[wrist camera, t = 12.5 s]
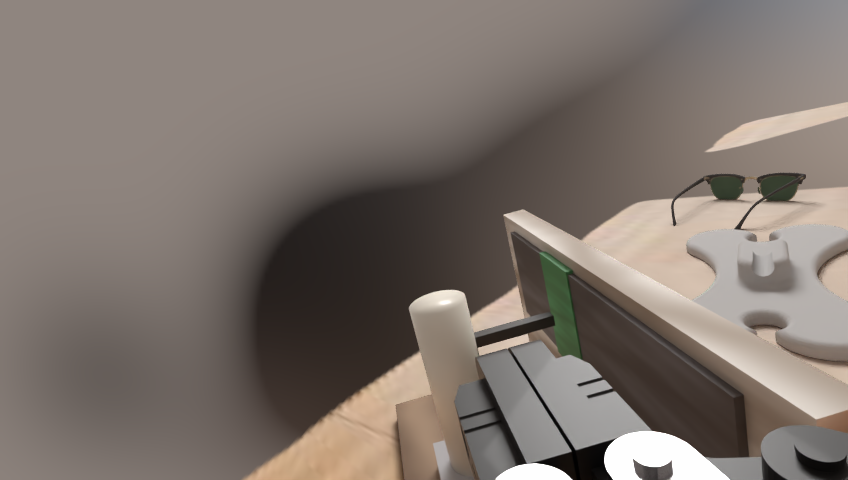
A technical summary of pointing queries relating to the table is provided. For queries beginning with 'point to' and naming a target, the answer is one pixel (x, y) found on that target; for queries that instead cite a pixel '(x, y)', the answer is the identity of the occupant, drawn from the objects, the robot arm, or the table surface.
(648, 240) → the table surface
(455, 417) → the white cylinder on base
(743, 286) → the holder
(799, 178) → the sunglasses
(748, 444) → the base
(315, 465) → the table surface
